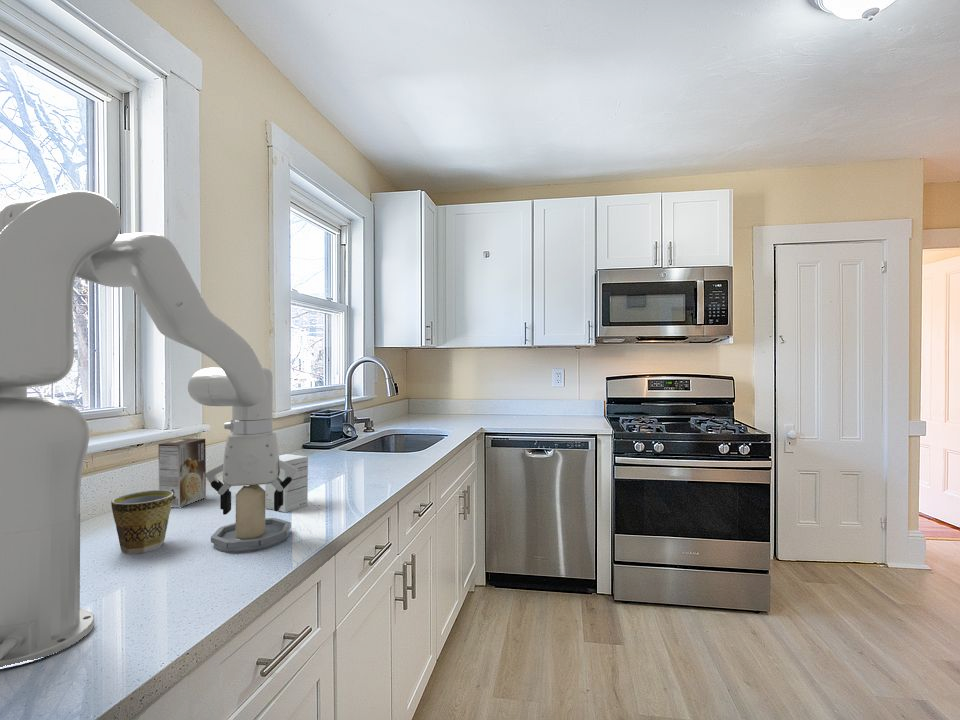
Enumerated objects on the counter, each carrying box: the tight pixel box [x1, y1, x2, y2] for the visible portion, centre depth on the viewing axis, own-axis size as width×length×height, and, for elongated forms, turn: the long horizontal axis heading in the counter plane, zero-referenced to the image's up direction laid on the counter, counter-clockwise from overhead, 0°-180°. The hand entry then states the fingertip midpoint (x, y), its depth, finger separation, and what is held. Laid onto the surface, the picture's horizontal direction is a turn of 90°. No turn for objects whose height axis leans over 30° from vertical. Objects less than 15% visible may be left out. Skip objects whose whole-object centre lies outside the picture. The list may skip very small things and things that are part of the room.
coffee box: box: [157, 438, 207, 508], centre depth 125 cm, size 9×6×16 cm
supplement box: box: [264, 453, 309, 513], centre depth 121 cm, size 7×7×13 cm
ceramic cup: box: [110, 489, 173, 555], centre depth 95 cm, size 13×10×10 cm
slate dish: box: [210, 517, 292, 554], centre depth 99 cm, size 14×14×2 cm
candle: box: [235, 485, 266, 539], centre depth 98 cm, size 6×6×10 cm
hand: (252, 510), depth 99 cm, fingers open, 9 cm apart
